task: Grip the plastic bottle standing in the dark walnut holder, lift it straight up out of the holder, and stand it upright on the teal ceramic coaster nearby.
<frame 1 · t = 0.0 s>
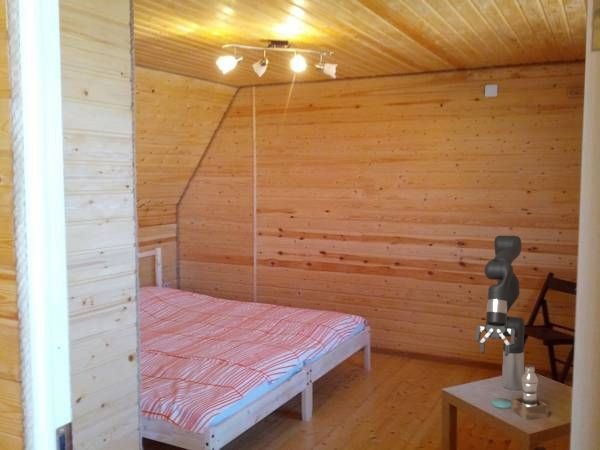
hand: (494, 354, 230), 31 cm above the table, tool tilted 20°, fingers open, 8 cm apart
teal coaster: (502, 404, 261), on the table
walnut holder: (529, 413, 251), on the table
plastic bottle: (529, 414, 251), resting in walnut holder
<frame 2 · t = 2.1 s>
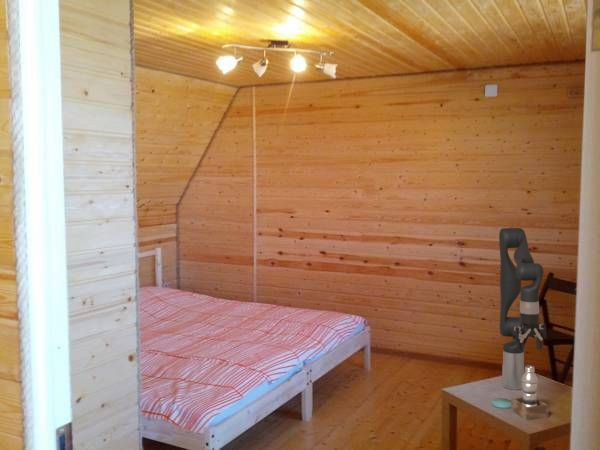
hand: (529, 350, 249), 27 cm above the table, tool pointing down, fingers open, 8 cm apart
nothing on the table moved.
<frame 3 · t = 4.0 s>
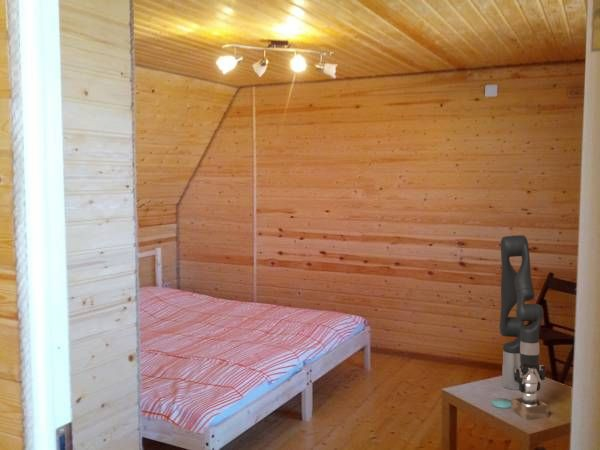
hand: (529, 391, 250), 10 cm above the table, tool pointing down, fingers closed on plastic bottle, 6 cm apart
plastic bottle: (529, 414, 251), resting in walnut holder, touching gripper
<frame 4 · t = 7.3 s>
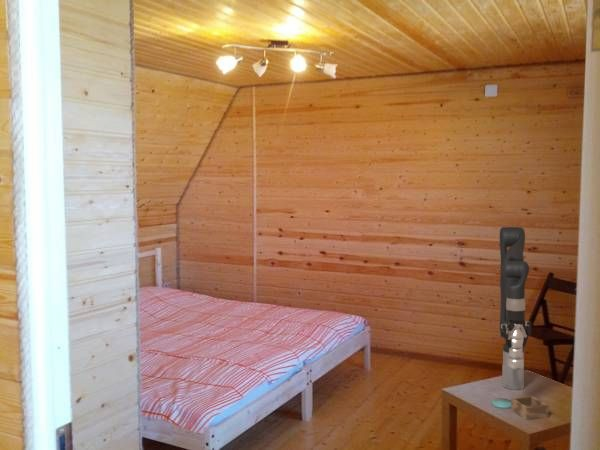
hand: (515, 346, 254), 27 cm above the table, tool pointing down, fingers closed on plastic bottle, 6 cm apart
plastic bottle: (515, 369, 255), point 17 cm above the table, touching gripper
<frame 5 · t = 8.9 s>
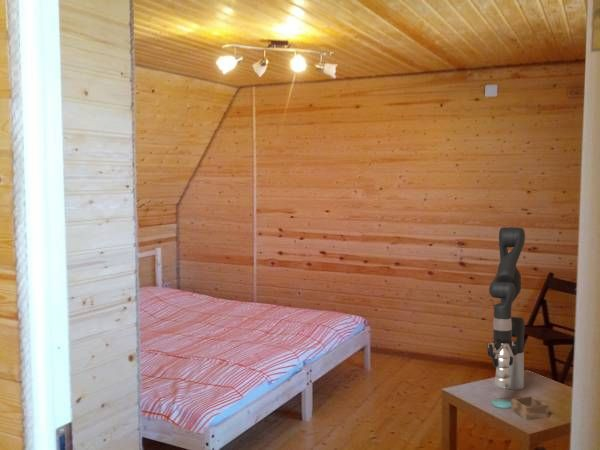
hand: (502, 365, 260), 17 cm above the table, tool pointing down, fingers closed on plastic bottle, 6 cm apart
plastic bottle: (502, 388, 261), point 7 cm above the table, touching gripper
when the fingers open (12 cm above the table, at t = 10.6 s): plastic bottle drops 1 cm, resting on teal coaster.
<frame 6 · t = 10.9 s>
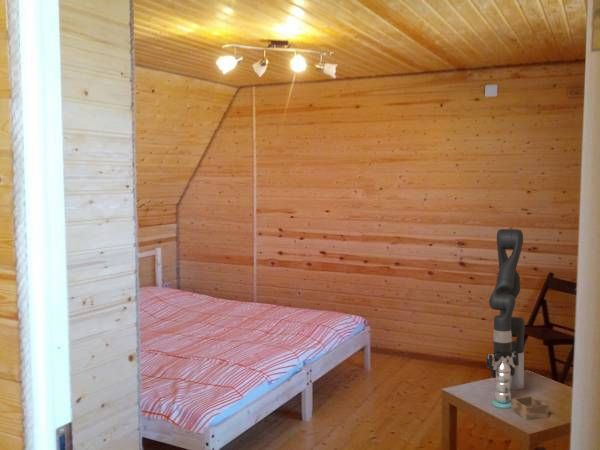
hand: (502, 376, 260), 13 cm above the table, tool pointing down, fingers open, 8 cm apart
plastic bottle: (502, 402, 261), point 1 cm above the table, touching teal coaster
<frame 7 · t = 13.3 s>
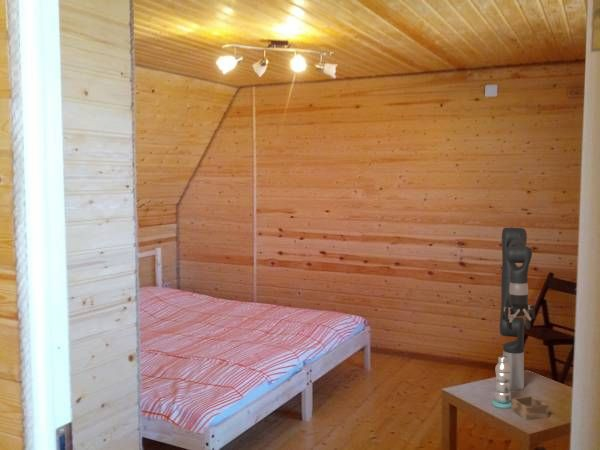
hand: (518, 329, 259), 33 cm above the table, tool pointing down, fingers open, 8 cm apart
nothing on the table moved.
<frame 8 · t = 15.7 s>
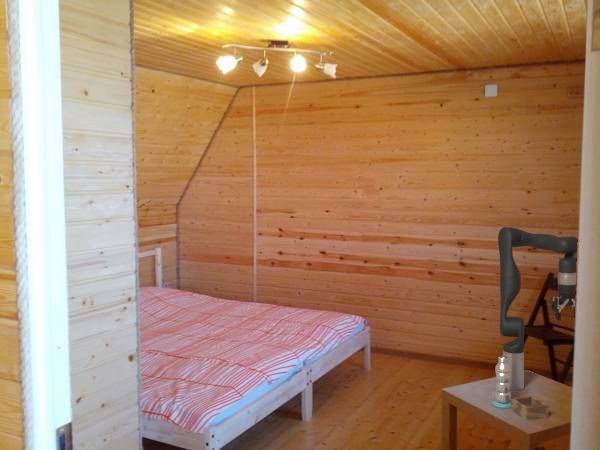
hand: (567, 319, 261), 36 cm above the table, tool pointing down, fingers open, 8 cm apart
nothing on the table moved.
at the end: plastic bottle 0.2 cm off-centre on the teal coaster, point 1.0 cm above the teal coaster's base; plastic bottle tilted 0°; the gripper is holding nothing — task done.
